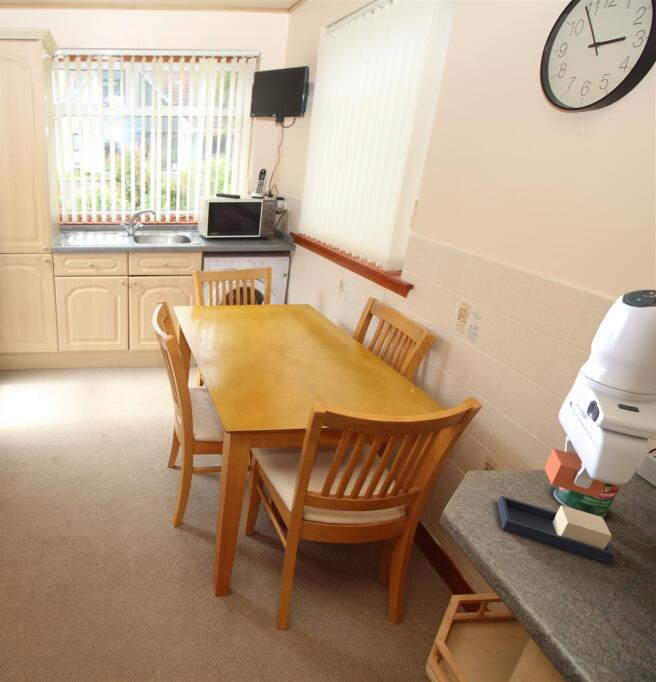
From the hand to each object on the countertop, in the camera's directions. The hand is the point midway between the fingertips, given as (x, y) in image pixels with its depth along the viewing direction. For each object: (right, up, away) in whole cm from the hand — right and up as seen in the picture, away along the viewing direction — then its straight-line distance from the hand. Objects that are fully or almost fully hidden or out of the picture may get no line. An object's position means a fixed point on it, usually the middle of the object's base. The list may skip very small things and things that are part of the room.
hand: (574, 473), depth 76 cm
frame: (+4, -13, +9) cm, 16 cm away
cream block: (+7, -13, +7) cm, 17 cm away
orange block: (0, -2, +1) cm, 2 cm away
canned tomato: (+16, -11, +17) cm, 25 cm away
